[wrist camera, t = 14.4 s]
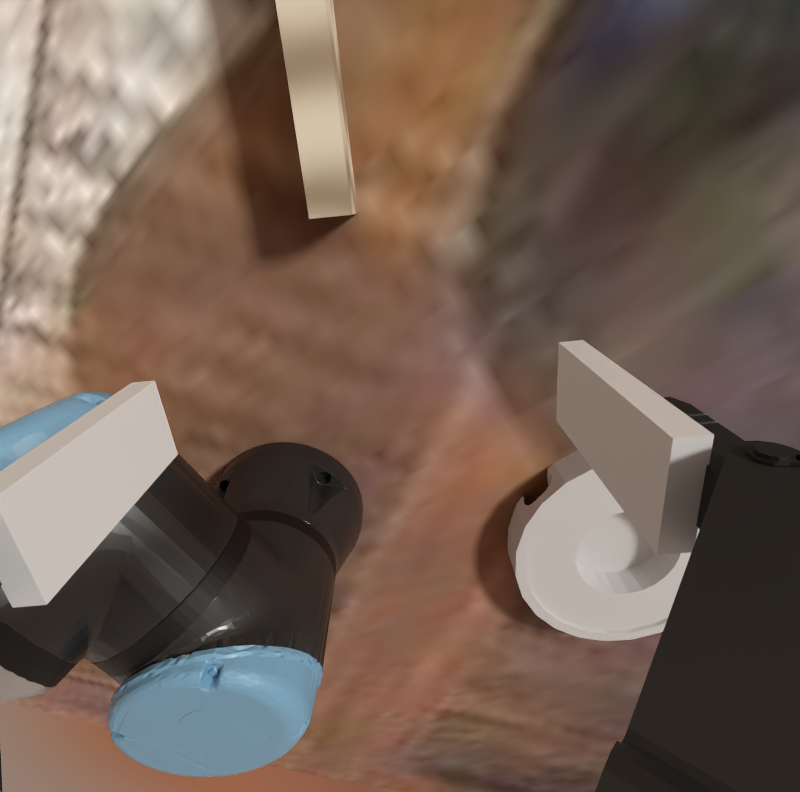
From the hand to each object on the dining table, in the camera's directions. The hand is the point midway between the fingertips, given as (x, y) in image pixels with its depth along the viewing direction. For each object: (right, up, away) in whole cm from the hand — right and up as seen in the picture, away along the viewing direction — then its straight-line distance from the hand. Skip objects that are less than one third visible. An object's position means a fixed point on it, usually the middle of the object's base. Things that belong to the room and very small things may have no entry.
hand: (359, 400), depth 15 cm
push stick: (-4, +23, +20) cm, 31 cm away
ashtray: (+24, -14, +36) cm, 46 cm away
